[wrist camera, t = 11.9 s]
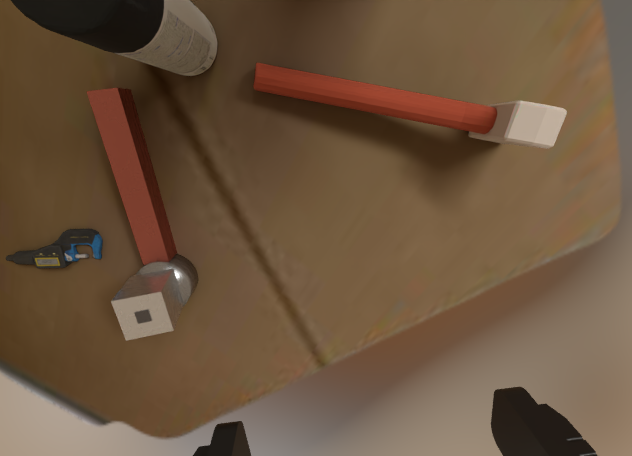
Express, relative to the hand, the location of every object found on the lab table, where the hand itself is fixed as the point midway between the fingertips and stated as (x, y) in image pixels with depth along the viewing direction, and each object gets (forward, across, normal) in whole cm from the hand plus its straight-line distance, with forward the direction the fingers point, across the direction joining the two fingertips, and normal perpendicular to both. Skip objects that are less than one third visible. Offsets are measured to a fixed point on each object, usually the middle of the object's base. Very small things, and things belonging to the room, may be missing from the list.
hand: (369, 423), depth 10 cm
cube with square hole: (+28, +21, +9) cm, 37 cm away
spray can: (+32, +12, -18) cm, 39 cm away
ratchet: (+32, +21, -1) cm, 38 cm away
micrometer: (+33, +34, +3) cm, 48 cm away
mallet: (+33, -9, -9) cm, 35 cm away
